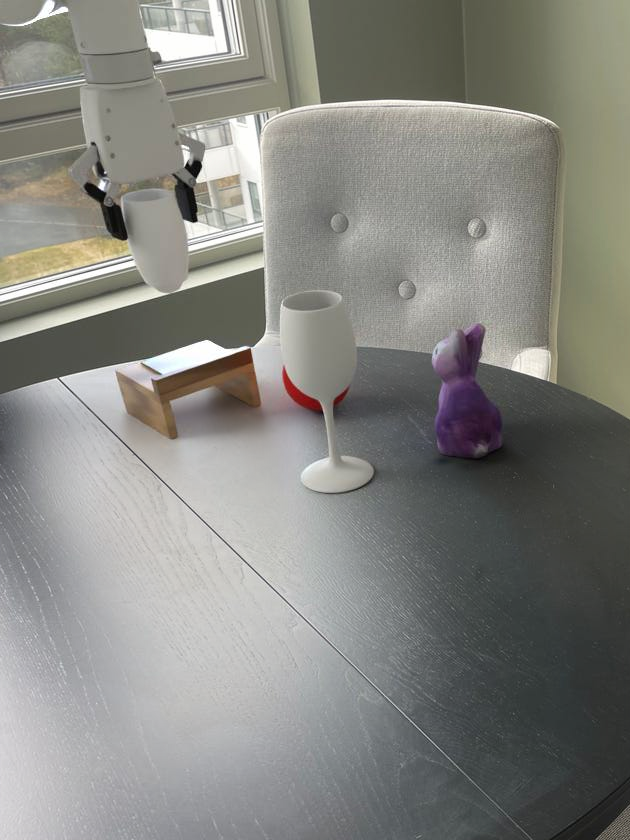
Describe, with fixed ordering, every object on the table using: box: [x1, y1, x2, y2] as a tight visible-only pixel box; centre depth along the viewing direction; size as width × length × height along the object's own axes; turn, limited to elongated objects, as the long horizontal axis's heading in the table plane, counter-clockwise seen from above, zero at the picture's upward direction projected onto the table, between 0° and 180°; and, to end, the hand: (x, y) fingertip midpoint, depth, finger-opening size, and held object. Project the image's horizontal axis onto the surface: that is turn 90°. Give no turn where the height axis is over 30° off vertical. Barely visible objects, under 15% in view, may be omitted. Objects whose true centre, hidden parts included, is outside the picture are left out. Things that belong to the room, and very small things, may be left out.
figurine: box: [431, 322, 503, 459], centre depth 117 cm, size 9×10×15 cm
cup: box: [120, 188, 190, 295], centre depth 123 cm, size 7×7×21 cm
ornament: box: [281, 363, 351, 412], centre depth 128 cm, size 9×9×10 cm
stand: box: [114, 339, 262, 440], centre depth 130 cm, size 12×14×8 cm
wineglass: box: [279, 289, 375, 494], centre depth 109 cm, size 9×9×21 cm
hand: (155, 229), depth 119 cm, fingers open, 9 cm apart
